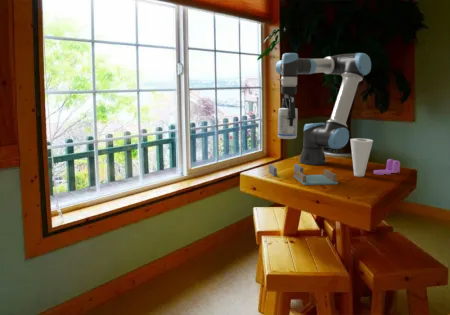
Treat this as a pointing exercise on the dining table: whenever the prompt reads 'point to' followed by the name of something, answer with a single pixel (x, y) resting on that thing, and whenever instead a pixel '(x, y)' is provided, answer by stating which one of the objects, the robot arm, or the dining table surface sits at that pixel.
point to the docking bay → (316, 178)
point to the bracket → (389, 168)
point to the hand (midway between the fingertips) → (287, 131)
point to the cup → (360, 155)
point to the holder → (274, 170)
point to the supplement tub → (286, 124)
